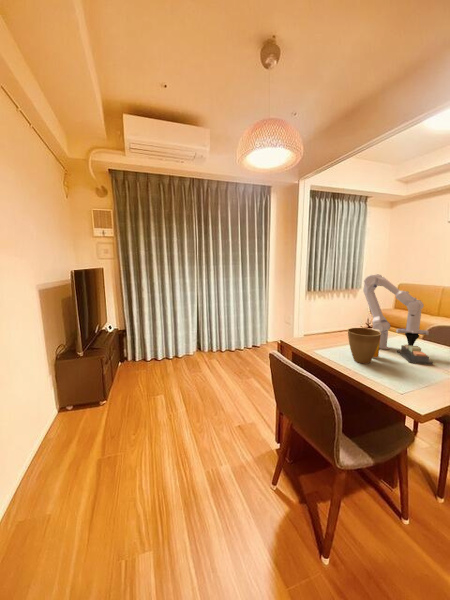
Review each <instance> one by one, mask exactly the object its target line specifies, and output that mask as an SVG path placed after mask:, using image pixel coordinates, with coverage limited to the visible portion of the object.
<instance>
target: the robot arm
mask: <svg viewBox="0 0 450 600" xmlns="http://www.w3.org/2000/svg"><path fill="white" fill-rule="evenodd" d="M363 282H364V283H363V293H364V296H365V297H364V298H365V300H366V303H367V305H368V307H369V310H370V314H371V316H372V321H371V323H372V329H378V330H380V332H381V336H380V345H379V350H380V349H382V350H390V347H389V346H388V339H389V338H388V336H389V332H388V331H389V330H390V329H391V324H390V322H389V321H388V320H387V318H386V317H385V316H384V314H383V312H382V309H381V306H380V303H379V301H378V298H377V296H376V293H375V291H376V289H377V287H383V288H385V289H386V290H388V292H391V293H392V294H393V295H395V299H396V300H398V301H399V302H400V303H401V304H403V305H404V306H406V309H407V310H408V312H407V318H406V326H405V327H406V328H395V329H396V331H395V332H396V333H397V334H404V335H405V337H406V340H407V345H408V346H409V345H411V346H415V345H414V344H415V343H416V341H417V340H418V338H420V335H426V336H429V335H430V334H429V333H430V331H429V330H424V329H420V325H421V319H422V318H421V317H422V310H423V308H424V307H425V306H424V303H423V301H422V300H420V299H417V297H414V296H412V295H411V294H410V292H409V291H408V290H407V291H405V290H400V289H399V288H398V287H397V286H395V285H394V284H393V283H392V282H390V281H389V280H388V279H387V278H386V277H385V276H382V274H377V273H376V274H369V275H367V276H366V277H365V278H364V279H363Z"/></svg>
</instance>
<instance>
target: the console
mask: <svg viewBox="0 0 450 600" xmlns="http://www.w3.org/2000/svg"><path fill="white" fill-rule="evenodd" d="M404 346H405V344H404V345H401V349H398V348H397V349H396V352H397V354H399V355H400V356H401V357H402V358H403V359H405V360H406V362H408V363H409V364H419V365H427V366H429V365H430V366H434V362H433V361H432V360H431V359H430V356H428V355H427V354H426V357H425V356H416V355H414V354H413V352H411V351H409V350H408V349H407V348H406V347H404ZM421 352H423V351H422V350H421Z"/></svg>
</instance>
